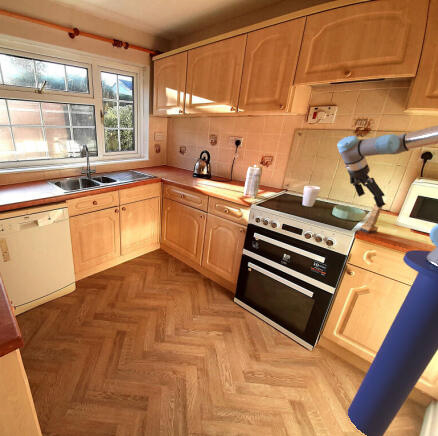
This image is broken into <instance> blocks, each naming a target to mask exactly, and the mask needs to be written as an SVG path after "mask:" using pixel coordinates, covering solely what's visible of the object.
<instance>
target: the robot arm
mask: <svg viewBox="0 0 438 436" xmlns="http://www.w3.org/2000/svg"><path fill="white" fill-rule="evenodd" d="M433 146H438V124H437V125H433V126H429V127H426V128H422V129H417V130H413V131H410V132H406V133H401V134H398V135H397V134H395V133H391V134H382V135H380V136H374V137H369V138H365V139H363V138H362V139H359V138H358V137H357V136H356V135H349V136H345V137H343V138H342V139H340V140H339V141H338V143H337V149H338V153H339V154H340V157H341V158H342V160H343V163H344V165H345V166H344V168H345V169H346V170H347V173H348V175H349V184H350V185H352V186H353V187H354V189H355V191H356V194H357V196H358V197H362V196H364V195H366V193H365V190H364V188H363V187H365V188H366V189H368V191H369V192H370V193H371V194H372V196H373V200H374V203H375V204H376V205H377V207H378V208H379V207H381V206H382V207H384V206H386V204H385V201H384V198H383V197H385V196H386V194H385V193H384V192H383V190H382V189H381V188H380V186H379V185H378V183H377V182H376V180H375V178H374V177H370V176H369V175H368V174H369V173H370V171H371V169H370V166H369V164H368V160H367V159H366V157H371V156H381V155H398V154H401V153H404V152H409V151H413V150H418V149H423V148H429V147H433ZM429 239H430V242H431V243H432V244H433V245H434V246H435V248H434V249H433V250H432V251H431V253H429V254H428V255H427V257H426V261H427V262H428V263H430V264H431V265H433V266H435V267H437V268H438V223H437V224H436V225H434V226H433V227H432V228H431V229H430V232H429Z"/></svg>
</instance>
